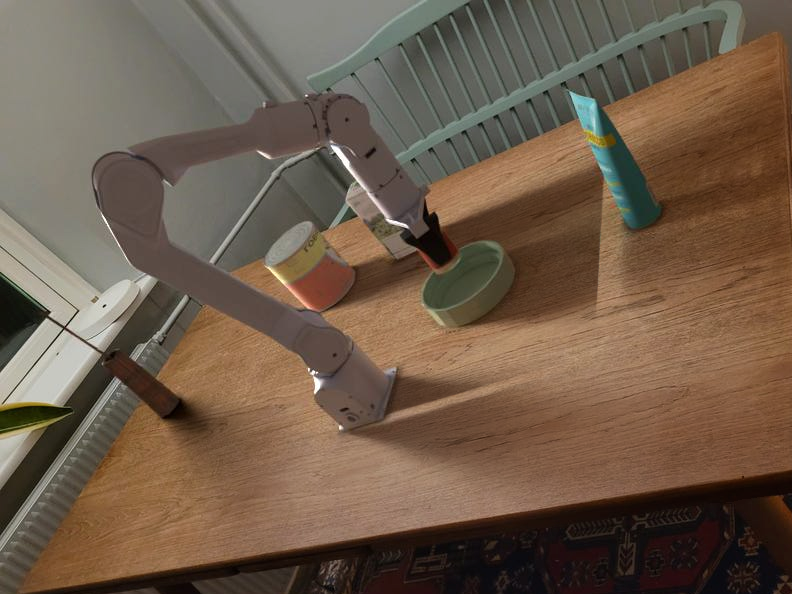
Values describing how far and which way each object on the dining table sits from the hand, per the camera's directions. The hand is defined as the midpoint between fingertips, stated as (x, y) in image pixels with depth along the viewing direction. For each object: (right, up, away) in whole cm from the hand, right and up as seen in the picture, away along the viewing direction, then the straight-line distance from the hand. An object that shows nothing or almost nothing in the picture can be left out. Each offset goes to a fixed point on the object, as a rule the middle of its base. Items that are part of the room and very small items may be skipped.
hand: (441, 253), depth 99 cm
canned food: (-22, -1, +32) cm, 39 cm away
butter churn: (-54, -23, +38) cm, 70 cm away
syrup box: (-7, +6, +26) cm, 27 cm away
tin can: (+1, -1, +1) cm, 2 cm away
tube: (+27, +4, -6) cm, 28 cm away
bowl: (+5, -5, +5) cm, 8 cm away
